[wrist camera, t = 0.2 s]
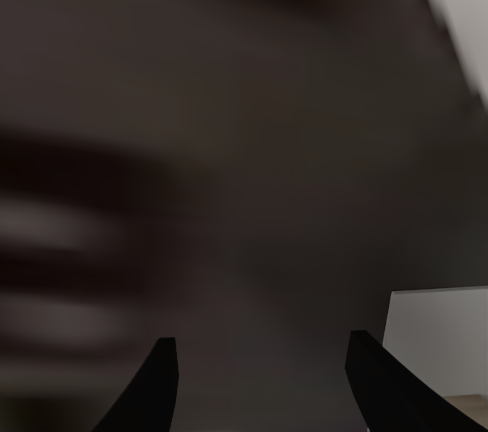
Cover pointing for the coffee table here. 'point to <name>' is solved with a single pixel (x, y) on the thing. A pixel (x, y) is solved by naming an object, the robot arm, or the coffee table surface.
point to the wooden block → (471, 407)
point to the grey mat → (442, 337)
